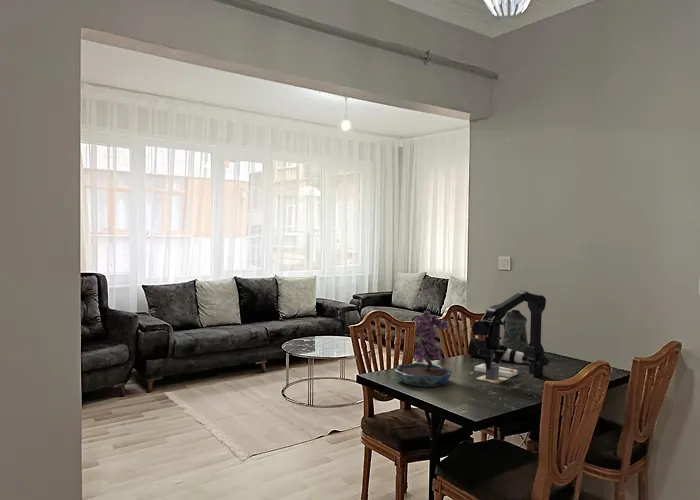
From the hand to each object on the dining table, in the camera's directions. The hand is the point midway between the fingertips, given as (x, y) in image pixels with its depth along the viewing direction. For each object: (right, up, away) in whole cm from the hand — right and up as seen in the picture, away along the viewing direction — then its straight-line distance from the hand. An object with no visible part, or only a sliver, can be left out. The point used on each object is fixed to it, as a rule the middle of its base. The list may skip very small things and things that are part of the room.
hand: (492, 367), depth 249 cm
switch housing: (+5, -6, +12) cm, 14 cm away
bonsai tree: (-31, -5, -2) cm, 32 cm away
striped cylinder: (+16, -6, +43) cm, 46 cm away
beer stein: (+28, -5, +62) cm, 68 cm away
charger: (0, -5, 0) cm, 5 cm away
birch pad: (0, -6, 0) cm, 6 cm away
